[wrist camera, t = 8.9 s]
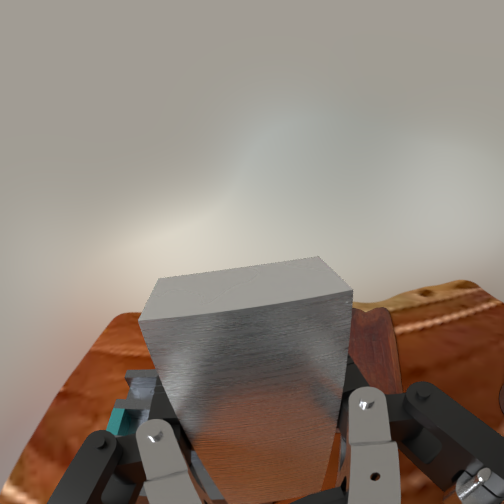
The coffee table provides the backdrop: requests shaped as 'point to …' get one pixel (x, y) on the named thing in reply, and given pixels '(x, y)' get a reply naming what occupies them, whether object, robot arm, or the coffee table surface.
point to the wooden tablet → (375, 349)
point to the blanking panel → (254, 371)
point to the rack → (137, 411)
